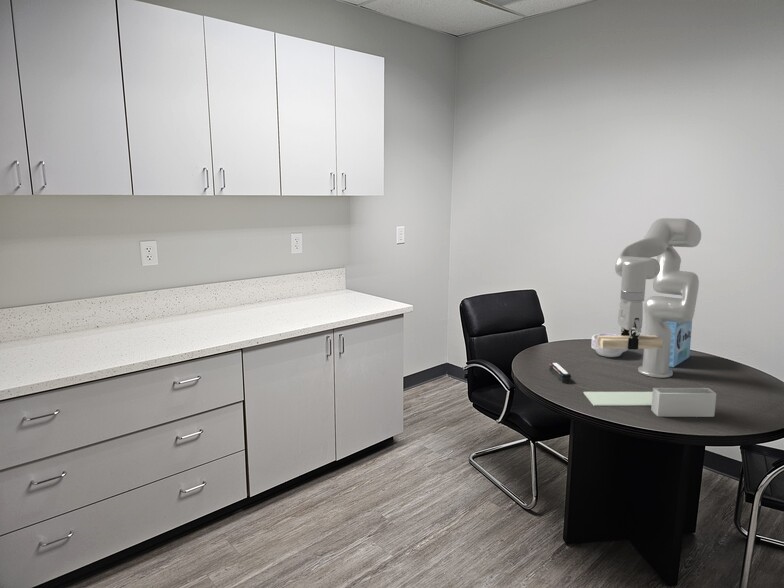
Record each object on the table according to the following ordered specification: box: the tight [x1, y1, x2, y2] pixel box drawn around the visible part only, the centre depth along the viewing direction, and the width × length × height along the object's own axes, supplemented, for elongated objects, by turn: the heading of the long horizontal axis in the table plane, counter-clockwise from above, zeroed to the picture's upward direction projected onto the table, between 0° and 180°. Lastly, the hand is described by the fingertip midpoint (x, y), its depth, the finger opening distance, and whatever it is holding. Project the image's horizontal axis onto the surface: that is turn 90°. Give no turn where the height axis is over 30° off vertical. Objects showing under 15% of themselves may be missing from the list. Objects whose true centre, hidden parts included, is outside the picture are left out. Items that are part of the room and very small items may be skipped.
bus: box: [548, 362, 572, 384], centre depth 215 cm, size 14×25×4 cm, turn 3°
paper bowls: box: [590, 333, 628, 358], centre depth 239 cm, size 15×15×8 cm
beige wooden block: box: [597, 335, 663, 350], centre depth 184 cm, size 6×20×3 cm, turn 87°
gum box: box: [666, 320, 693, 368], centre depth 226 cm, size 20×5×23 cm, turn 133°
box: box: [650, 387, 717, 418], centre depth 175 cm, size 5×18×8 cm, turn 87°
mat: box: [583, 391, 653, 407], centre depth 188 cm, size 12×26×1 cm, turn 87°
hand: (629, 345), depth 185 cm, fingers closed on beige wooden block, 6 cm apart
